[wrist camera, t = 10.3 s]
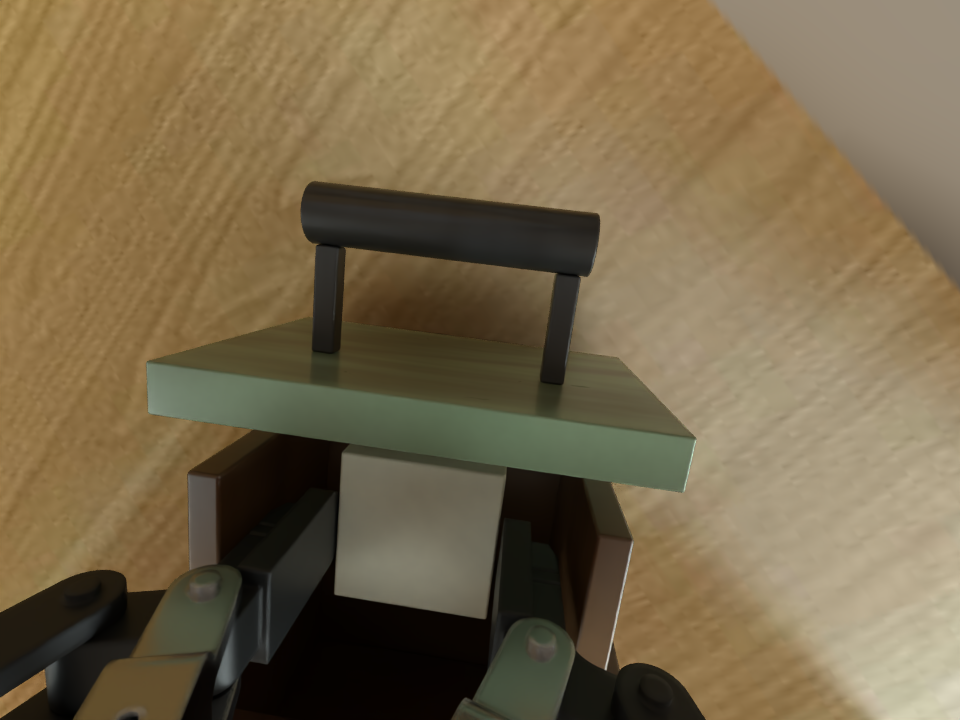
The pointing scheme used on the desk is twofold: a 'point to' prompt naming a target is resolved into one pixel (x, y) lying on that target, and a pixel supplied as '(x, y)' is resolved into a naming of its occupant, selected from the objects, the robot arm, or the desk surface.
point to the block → (417, 530)
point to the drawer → (422, 446)
